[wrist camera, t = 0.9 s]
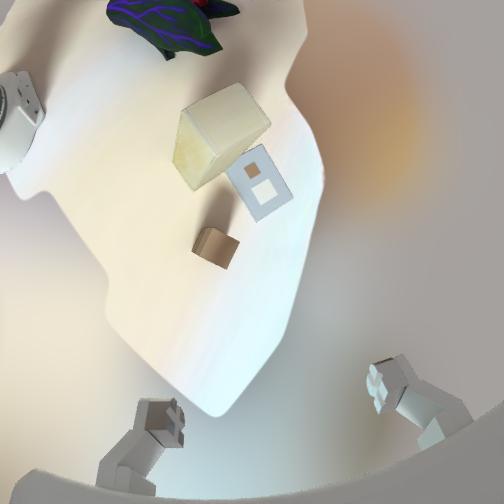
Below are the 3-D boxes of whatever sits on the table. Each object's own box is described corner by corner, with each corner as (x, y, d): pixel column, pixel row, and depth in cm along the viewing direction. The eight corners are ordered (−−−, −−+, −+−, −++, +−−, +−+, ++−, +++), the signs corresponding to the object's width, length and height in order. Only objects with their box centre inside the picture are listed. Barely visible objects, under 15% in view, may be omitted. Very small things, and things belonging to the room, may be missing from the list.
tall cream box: (206, 135, 47) (237, 76, 27) (229, 167, 49) (274, 125, 29) (169, 159, 45) (176, 106, 25) (193, 192, 47) (215, 160, 27)
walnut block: (191, 251, 48) (199, 256, 39) (203, 227, 48) (213, 227, 40) (214, 262, 49) (226, 269, 41) (225, 239, 50) (240, 241, 41)
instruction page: (221, 166, 48) (222, 165, 48) (261, 144, 50) (262, 144, 50) (255, 222, 51) (256, 222, 51) (292, 198, 53) (293, 198, 53)
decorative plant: (158, 28, 49) (266, 65, 51) (76, 67, 36) (202, 115, 38) (173, -42, 31) (301, -12, 33) (77, -25, 18) (239, -11, 20)
